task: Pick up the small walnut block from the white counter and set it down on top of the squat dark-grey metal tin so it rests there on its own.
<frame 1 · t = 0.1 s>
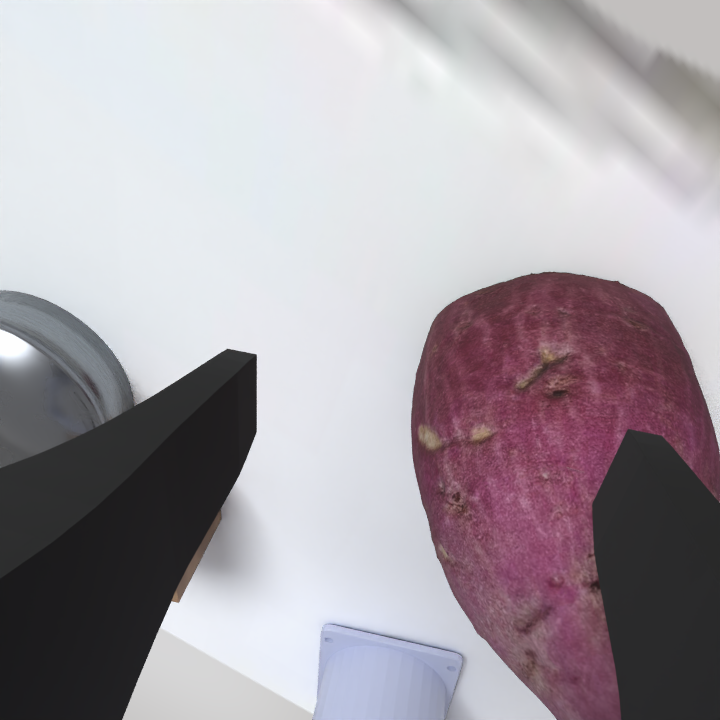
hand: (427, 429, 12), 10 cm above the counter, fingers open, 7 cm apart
walnut block: (176, 478, 30), on the counter
vegetable: (544, 388, 23), on the counter
grey tin: (45, 375, 28), on the counter
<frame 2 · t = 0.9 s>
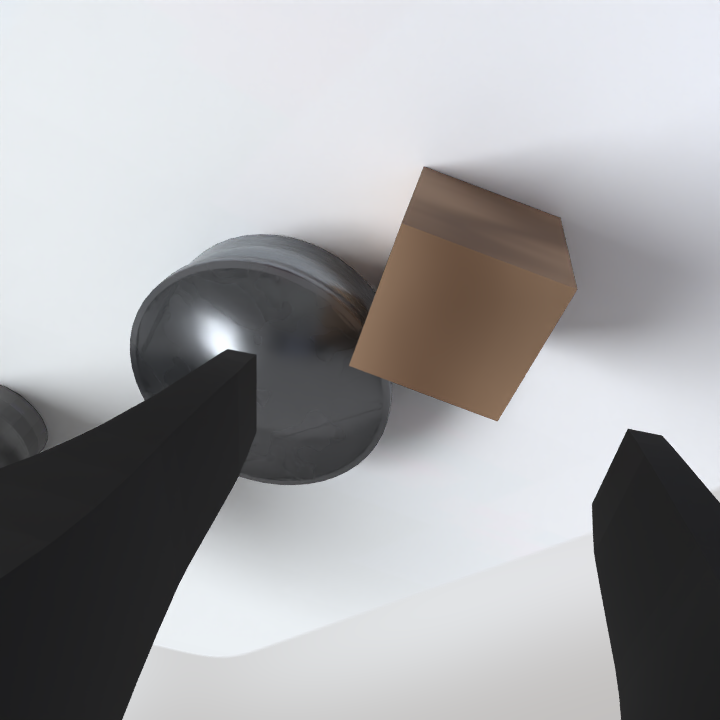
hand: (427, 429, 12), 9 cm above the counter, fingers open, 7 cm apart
beverage cup: (6, 417, 29), on the counter
walnut block: (463, 254, 20), on the counter
grey tin: (282, 342, 23), on the counter
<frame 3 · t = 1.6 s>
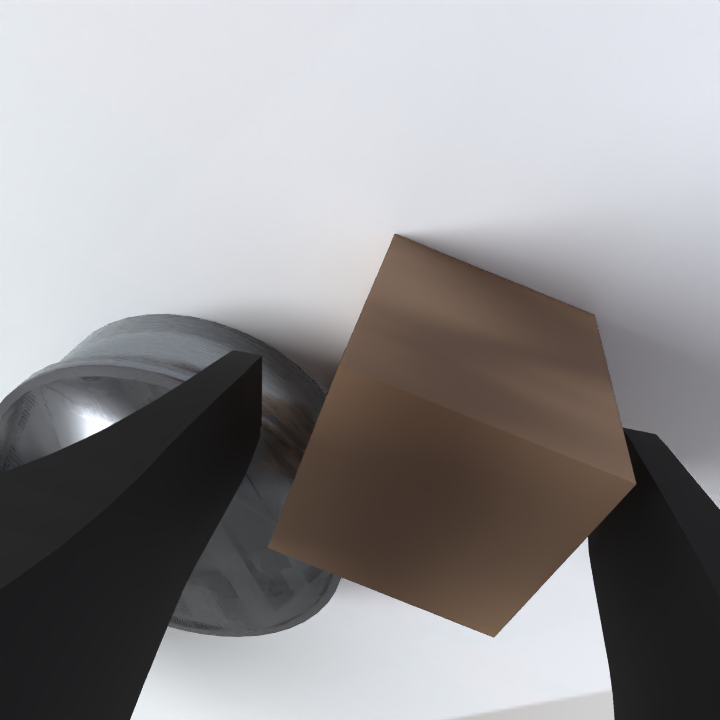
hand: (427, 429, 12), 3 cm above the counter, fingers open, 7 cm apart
walnut block: (451, 354, 14), on the counter
grey tin: (209, 444, 17), on the counter, touching gripper
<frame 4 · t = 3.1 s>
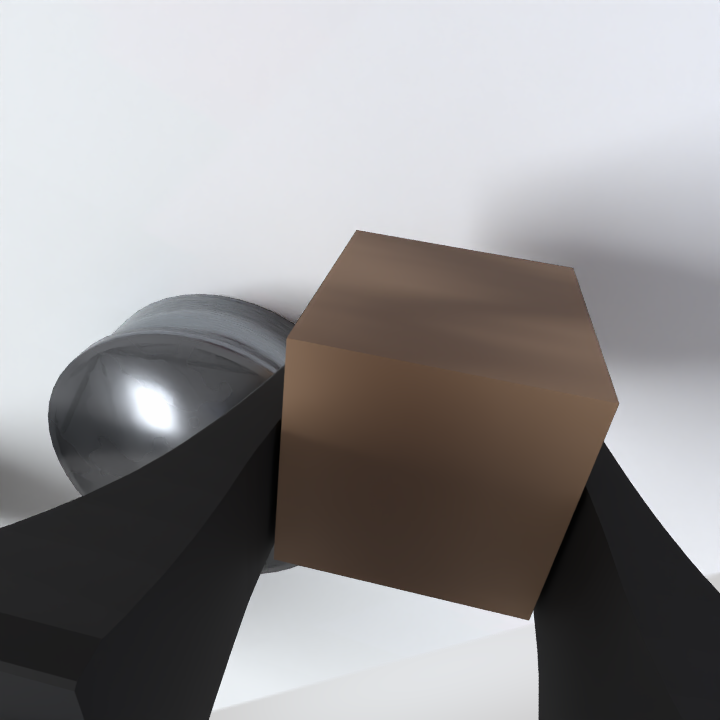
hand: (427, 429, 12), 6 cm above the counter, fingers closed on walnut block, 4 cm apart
walnut block: (442, 343, 13), point 3 cm above the counter, touching gripper
grey tin: (232, 410, 20), on the counter
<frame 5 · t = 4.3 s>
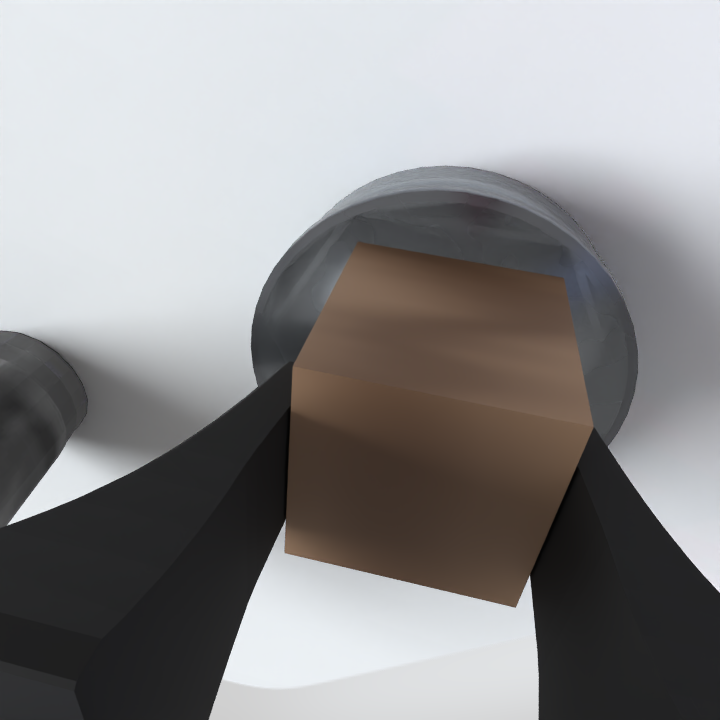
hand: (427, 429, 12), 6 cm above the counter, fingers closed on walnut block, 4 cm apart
beverage cup: (33, 381, 22), on the counter
walnut block: (440, 345, 14), point 3 cm above the counter, touching grey tin, gripper
grey tin: (441, 320, 17), on the counter, touching walnut block
when the fingers open (6 cm above the counter, at t = 4.7 s): walnut block stays where it is, resting on grey tin.
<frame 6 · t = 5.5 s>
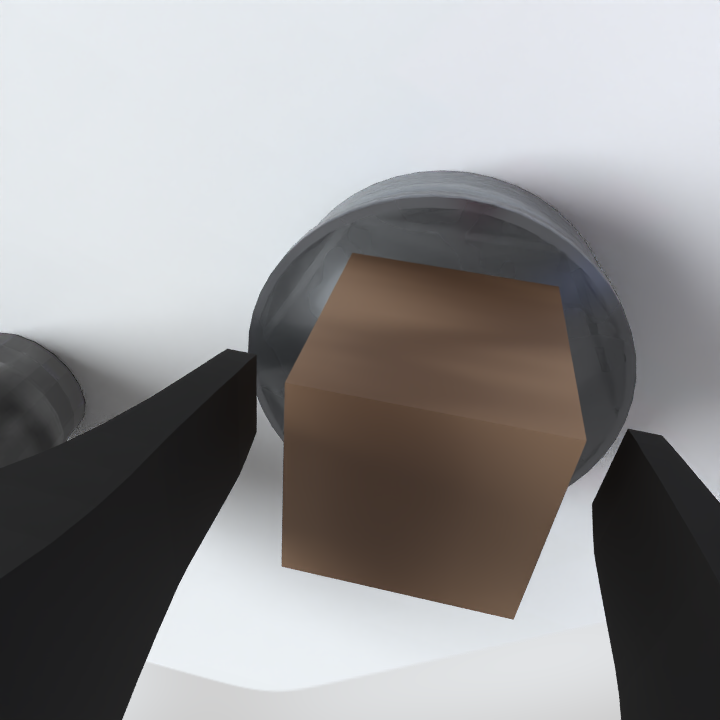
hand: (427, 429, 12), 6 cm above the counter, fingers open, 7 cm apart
beverage cup: (30, 383, 22), on the counter
walnut block: (437, 354, 14), point 3 cm above the counter, touching grey tin
grey tin: (439, 325, 17), on the counter, touching walnut block
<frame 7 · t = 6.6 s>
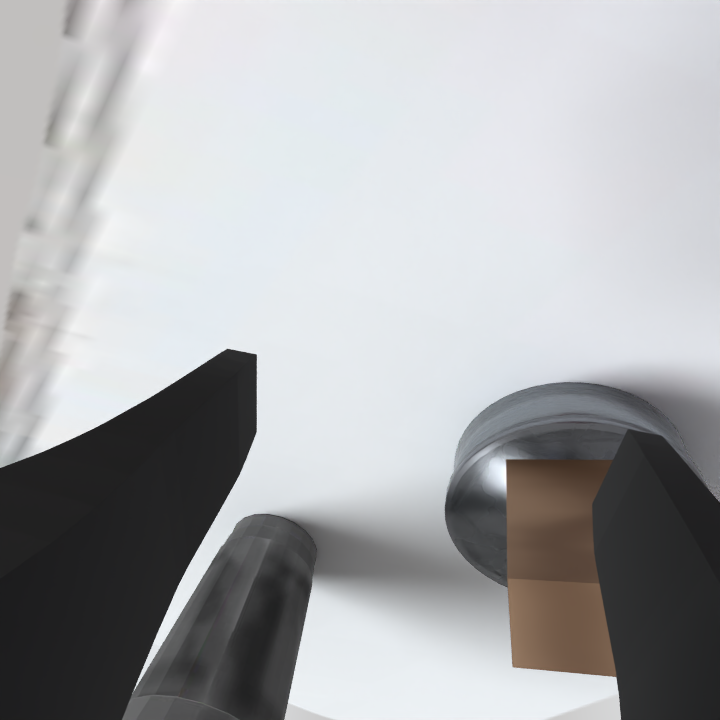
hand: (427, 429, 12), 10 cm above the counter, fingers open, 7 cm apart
beverage cup: (275, 541, 31), on the counter
walnut block: (571, 505, 22), point 3 cm above the counter, touching grey tin
grey tin: (564, 467, 24), on the counter, touching walnut block
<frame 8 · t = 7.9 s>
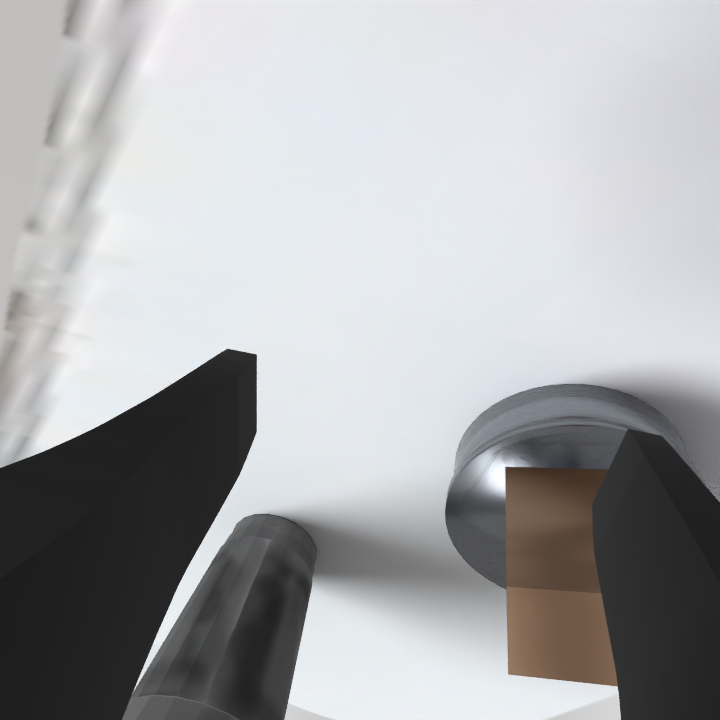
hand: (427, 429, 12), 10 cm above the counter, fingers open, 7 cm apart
beverage cup: (275, 541, 31), on the counter
walnut block: (569, 513, 22), point 3 cm above the counter, touching grey tin
grey tin: (565, 469, 24), on the counter, touching walnut block
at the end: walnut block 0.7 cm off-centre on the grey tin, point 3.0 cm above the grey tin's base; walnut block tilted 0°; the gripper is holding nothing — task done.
